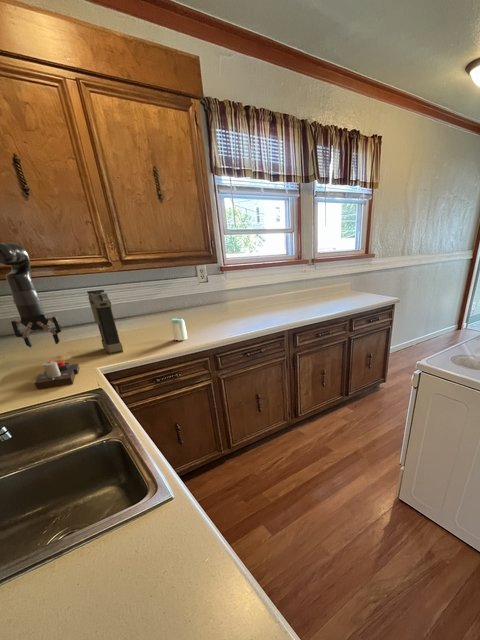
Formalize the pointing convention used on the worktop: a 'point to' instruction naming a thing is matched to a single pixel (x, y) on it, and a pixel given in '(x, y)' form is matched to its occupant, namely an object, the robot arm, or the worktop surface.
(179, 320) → the can
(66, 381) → the panel
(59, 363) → the power button
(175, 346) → the worktop surface
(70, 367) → the switch block
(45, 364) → the white cup
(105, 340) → the device
